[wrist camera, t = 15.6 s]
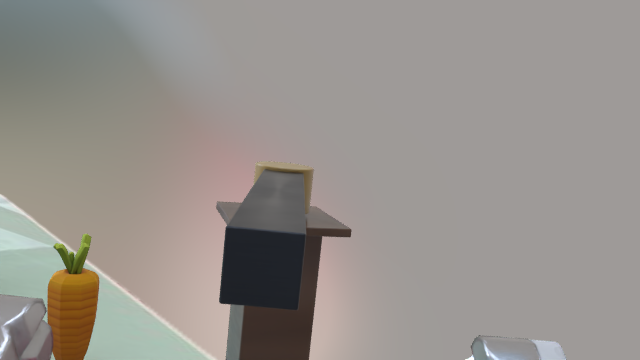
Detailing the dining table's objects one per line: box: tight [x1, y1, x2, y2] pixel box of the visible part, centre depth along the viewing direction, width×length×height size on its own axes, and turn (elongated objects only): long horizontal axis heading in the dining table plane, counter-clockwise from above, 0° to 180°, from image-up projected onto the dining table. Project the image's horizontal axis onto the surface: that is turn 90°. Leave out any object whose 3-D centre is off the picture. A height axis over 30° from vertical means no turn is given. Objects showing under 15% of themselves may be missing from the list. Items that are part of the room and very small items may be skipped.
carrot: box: [48, 234, 99, 360], centre depth 56 cm, size 5×5×15 cm
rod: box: [219, 162, 314, 310], centre depth 26 cm, size 20×4×3 cm, turn 2°
